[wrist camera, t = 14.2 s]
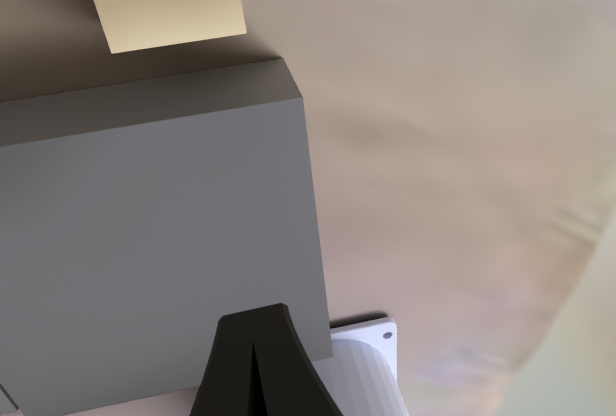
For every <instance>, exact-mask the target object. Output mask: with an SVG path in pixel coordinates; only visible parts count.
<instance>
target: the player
mask: <svg viewBox="0 0 616 416" xmlns="http://www.w3.org/2000/svg"><path fill="white" fill-rule="evenodd" d="M278 303H283V304H285V305H287V306H288V309H289V313H290V316H291V319H292V322H293V325H294V328H295V330H296V332H297V335H298V337H299V339H300V341H301V343H302V345H303V347H304V349H305V351H306V354H307V355H308V357H309V359H310V361H311V362H313V361H318V360H322V359H327V358H332V357H333V351H332V342H331V334H330V325H329V317H328V308H327V300H326V291H325V283H324V274H323V266H322V257H321V249H320V240H319V232H318V223H317V215H316V206H315V198H314V189H313V181H312V172H311V164H310V155H309V147H308V138H307V130H306V121H305V113H304V105H303V97H302V95H301V93H300V91H299V89H298V87H297V85H296V83H295V81H294V79H293V77H292V75H291V73H290V71H289V69H288V67H287V65H286V63H285V61H284V59H283V58H279V59H273V60H267V61H260V62H254V63H247V64H241V65H235V66H228V67H222V68H215V69H209V70H203V71H196V72H190V73H183V74H177V75H171V76H164V77H158V78H151V79H145V80H139V81H132V82H126V83H119V84H113V85H107V86H100V87H94V88H87V89H81V90H75V91H68V92H62V93H55V94H49V95H43V96H36V97H30V98H23V99H17V100H11V101H4V102H0V384H1V385H2V386H3V388H4V389H5V390H6V391H7V393H8V394H9V395H10V397H11V398H12V399H13V401H14V402H15V403H16V405H17V406H18V407H19V408H20V410H21V411H22V412H23V414H24V415H25V416H62V415H67V414H72V413H76V412H81V411H86V410H90V409H95V408H100V407H104V406H109V405H113V404H118V403H123V402H127V401H132V400H137V399H141V398H146V397H151V396H155V395H160V394H165V393H169V392H174V391H178V390H183V389H188V388H192V387H197V386H200V385H201V382H202V379H203V376H204V372H205V369H206V366H207V363H208V360H209V356H210V353H211V349H212V346H213V342H214V338H215V334H216V329H217V325H218V321H219V319H220V318H221V317H222V316H224V315H228V314H233V313H237V312H242V311H246V310H251V309H255V308H260V307H264V306H269V305H273V304H278Z"/></svg>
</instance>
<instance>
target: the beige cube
mask: <svg viewBox="0 0 616 416" xmlns="http://www.w3.org/2000/svg"><path fill="white" fill-rule="evenodd" d="M94 3H95V6H96V9H97V12H98V15H99V18H100V21H101V24H102V27H103V30H104V33H105V36H106V39H107V42H108V45H109V48H110V51H111V53H112V54H113V53H119V52H126V51H133V50H139V49H146V48H152V47H159V46H166V45H172V44H179V43H186V42H192V41H199V40H206V39H212V38H219V37H226V36H232V35H239V34H245V33H247V32H246V26H245V20H244V15H243V9H242V3H241V0H94Z"/></svg>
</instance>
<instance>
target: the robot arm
mask: <svg viewBox="0 0 616 416" xmlns="http://www.w3.org/2000/svg"><path fill="white" fill-rule="evenodd" d="M330 334H331V342H332V351H333V357H332V358H327V359H322V360H318V361H313V362H311V361H310V359H309V357H308V355H307V354H306V351H305V349H304V347H303V345H302V343H301V341H300V339H299V337H298V335H297V332H296V330H295V328H294V325H293V322H292V319H291V316H290V313H289V309H288V306H287V305H285V304H283V303H278V304H273V305H269V306H264V307H260V308H255V309H251V310H246V311H242V312H237V313H233V314H228V315H224V316H222V317H221V318H220V319H219V321H218V325H217V329H216V334H215V338H214V342H213V346H212V349H211V353H210V356H209V360H208V363H207V366H206V369H205V372H204V376H203V379H202V382H201V385H200V387H199V390H198V393H197V396H196V399H195V402H194V404H193V407H192V410H191V413H190V416H409V414H408V411H407V408H406V406H405V403H404V401H403V398H402V396H401V393H400V391H399V388H398V386H397V379H396V324H395V321H394V320H393V319H392V318H389V317H386V318H381V319H376V320H371V321H366V322H362V323H357V324H352V325H347V326H343V327H338V328H333V329H330Z"/></svg>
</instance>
